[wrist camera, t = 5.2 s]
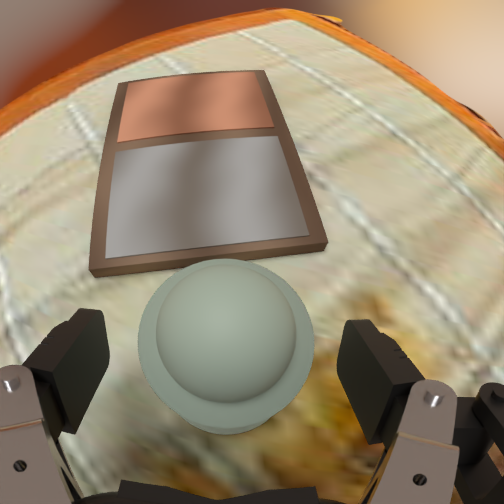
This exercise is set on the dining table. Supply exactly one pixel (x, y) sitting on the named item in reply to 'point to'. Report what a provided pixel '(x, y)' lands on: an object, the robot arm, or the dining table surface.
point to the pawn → (226, 344)
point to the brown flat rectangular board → (199, 176)
